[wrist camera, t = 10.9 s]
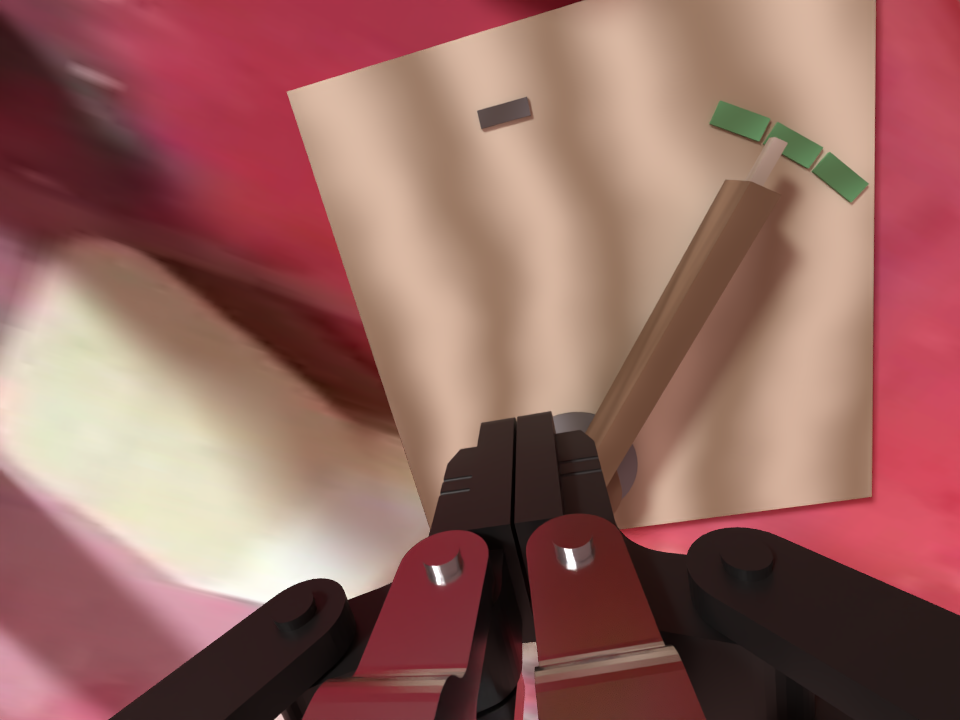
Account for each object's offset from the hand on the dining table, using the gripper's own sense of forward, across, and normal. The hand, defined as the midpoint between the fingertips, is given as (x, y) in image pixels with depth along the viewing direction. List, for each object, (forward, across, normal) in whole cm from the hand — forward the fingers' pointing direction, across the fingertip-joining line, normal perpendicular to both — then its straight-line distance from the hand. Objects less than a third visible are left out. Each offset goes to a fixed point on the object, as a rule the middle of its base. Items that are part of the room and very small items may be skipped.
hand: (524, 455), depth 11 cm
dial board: (+19, -4, +2) cm, 19 cm away
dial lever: (+17, -6, +4) cm, 18 cm away
